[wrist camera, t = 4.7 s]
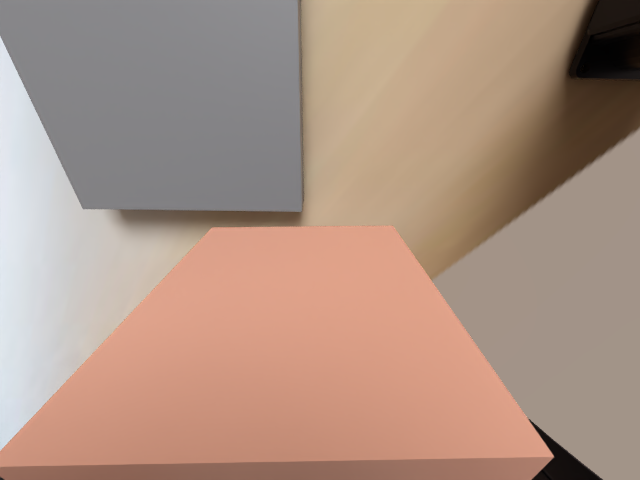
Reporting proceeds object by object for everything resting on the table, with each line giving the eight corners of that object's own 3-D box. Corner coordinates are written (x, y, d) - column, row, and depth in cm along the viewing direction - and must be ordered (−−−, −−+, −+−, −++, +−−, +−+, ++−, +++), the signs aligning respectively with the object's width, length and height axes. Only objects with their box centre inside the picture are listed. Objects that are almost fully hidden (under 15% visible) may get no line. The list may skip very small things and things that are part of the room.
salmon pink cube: (392, 225, 8) (554, 456, 2) (374, 346, 11) (432, 578, 5) (212, 227, 8) (-17, 468, 2) (241, 348, 11) (164, 583, 5)
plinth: (299, -90, 11) (294, -142, 9) (303, 199, 18) (301, 211, 15) (-8, -101, 11) (-92, -157, 9) (112, 196, 17) (83, 208, 15)
